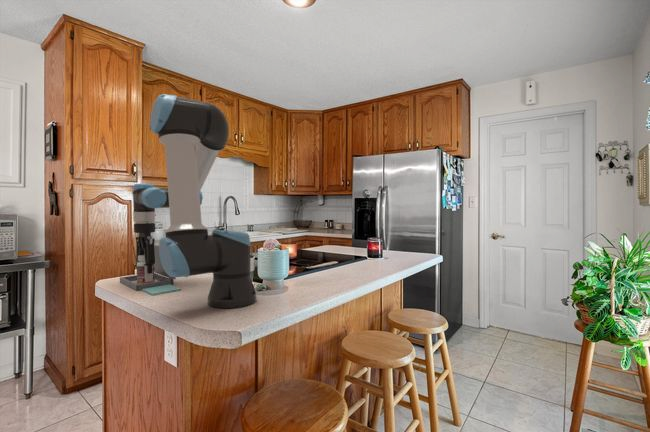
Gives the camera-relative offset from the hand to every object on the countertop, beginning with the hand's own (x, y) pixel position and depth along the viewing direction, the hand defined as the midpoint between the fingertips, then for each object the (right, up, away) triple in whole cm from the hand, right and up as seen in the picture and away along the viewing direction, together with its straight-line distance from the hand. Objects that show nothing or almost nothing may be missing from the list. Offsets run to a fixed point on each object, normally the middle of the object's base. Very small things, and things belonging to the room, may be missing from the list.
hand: (145, 280), depth 134 cm
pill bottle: (0, -2, 0) cm, 2 cm away
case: (0, -1, 0) cm, 1 cm away
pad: (+12, -2, -11) cm, 16 cm away
